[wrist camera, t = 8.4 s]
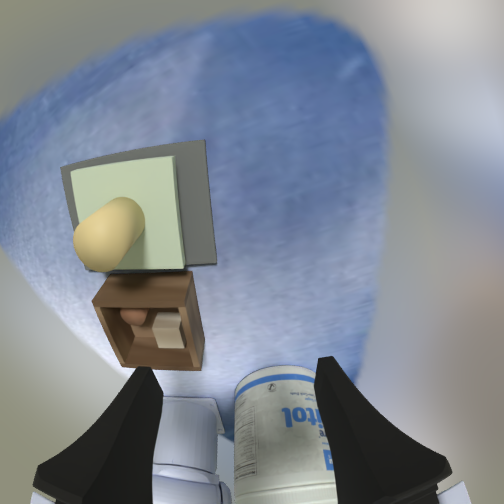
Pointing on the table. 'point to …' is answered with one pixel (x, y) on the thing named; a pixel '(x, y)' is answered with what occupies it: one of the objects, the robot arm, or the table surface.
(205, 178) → the mat
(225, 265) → the table surface
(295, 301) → the table surface
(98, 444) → the robot arm
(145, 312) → the box
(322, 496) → the supplement tub
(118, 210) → the lid
